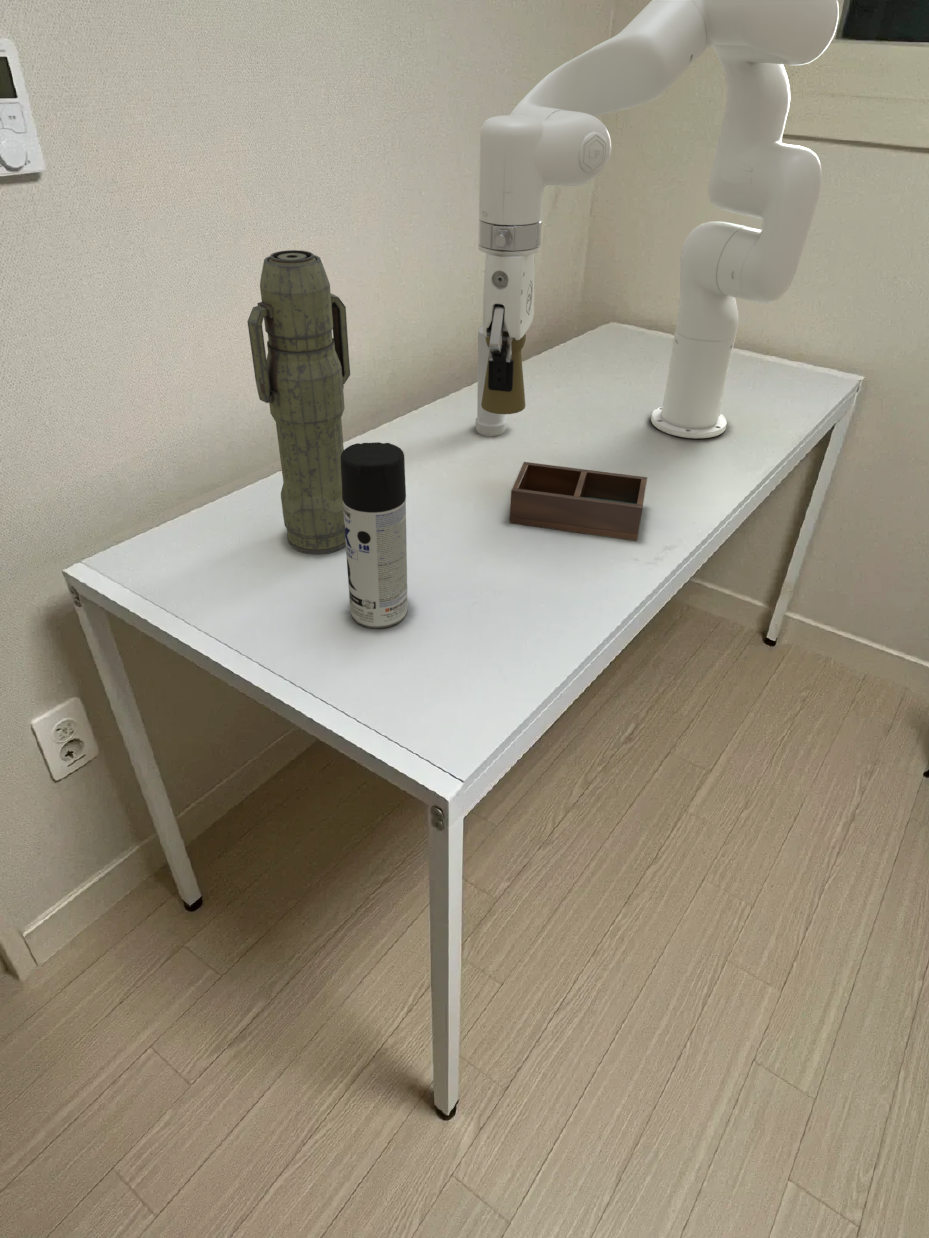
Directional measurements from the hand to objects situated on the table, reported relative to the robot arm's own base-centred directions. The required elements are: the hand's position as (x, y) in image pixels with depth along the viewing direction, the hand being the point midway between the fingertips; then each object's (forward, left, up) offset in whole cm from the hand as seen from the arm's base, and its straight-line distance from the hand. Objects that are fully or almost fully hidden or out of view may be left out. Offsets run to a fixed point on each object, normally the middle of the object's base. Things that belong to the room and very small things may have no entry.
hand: (504, 382), depth 110 cm
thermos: (+19, -20, -17) cm, 32 cm away
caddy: (+4, +12, -17) cm, 21 cm away
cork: (0, 0, -3) cm, 3 cm away
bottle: (-21, -6, -17) cm, 28 cm away
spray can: (+33, -7, -17) cm, 37 cm away
